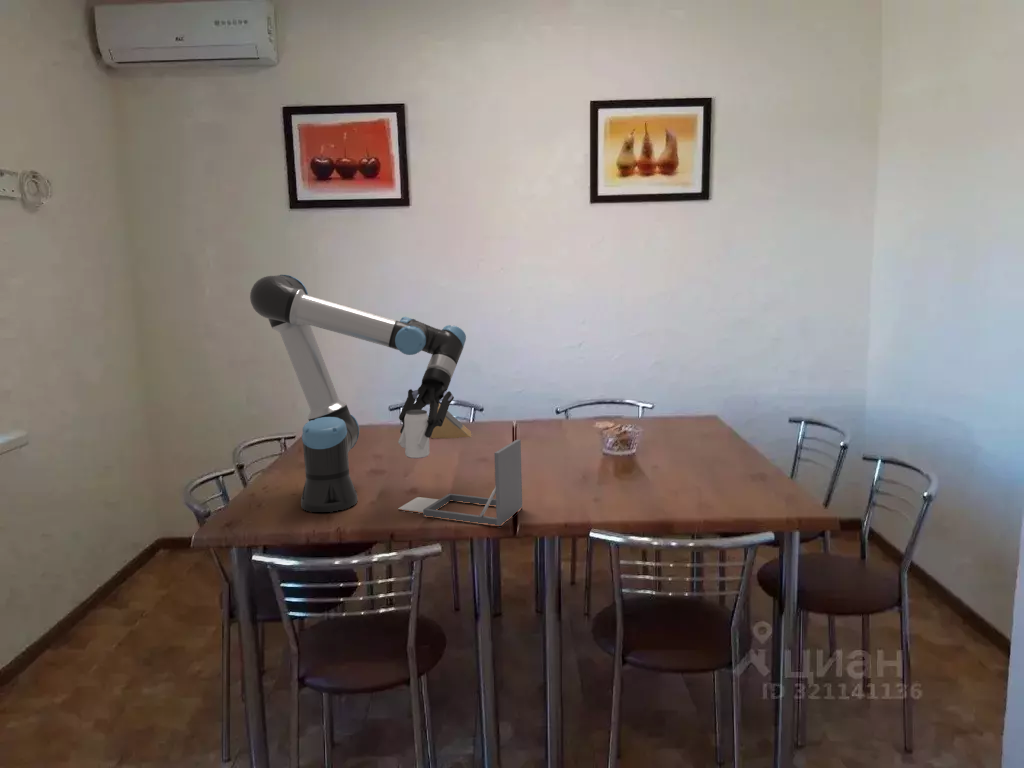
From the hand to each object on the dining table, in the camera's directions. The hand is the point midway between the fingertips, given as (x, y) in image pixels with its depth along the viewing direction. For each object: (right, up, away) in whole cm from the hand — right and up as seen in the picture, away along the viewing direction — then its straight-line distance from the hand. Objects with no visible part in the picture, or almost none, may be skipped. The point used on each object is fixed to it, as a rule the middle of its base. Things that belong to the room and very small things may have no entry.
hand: (410, 445), depth 187 cm
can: (+1, -3, +4) cm, 5 cm away
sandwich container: (+4, -4, +86) cm, 86 cm away
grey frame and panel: (+16, -18, 0) cm, 24 cm away
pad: (+2, -17, +6) cm, 18 cm away
